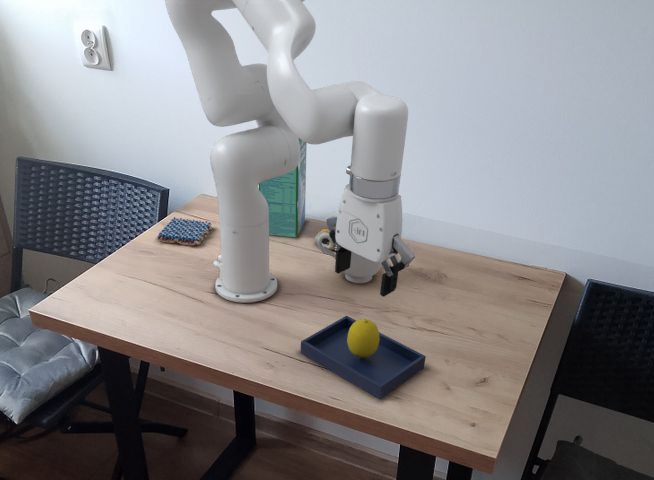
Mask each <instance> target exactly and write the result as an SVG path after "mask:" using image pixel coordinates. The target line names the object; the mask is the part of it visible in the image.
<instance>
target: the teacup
mask: <svg viewBox="0 0 654 480" xmlns="http://www.w3.org/2000/svg"><path fill="white" fill-rule="evenodd" d="M324 238H328V239H329V240H330V243H331V244H333V241H332V239H331V238H330V236H329V233H322V234H321V235H320V236H319V237H318V242H316V244H317V243H318V244H317V247H318V249H319V251H321V253H323V254H325V255H327V256H330V257H332V258H333V259H334V261H336V252H334V251H332V250H331V249H328V248H326V247H324V246H323V245H322V243H321V242H322V239H324ZM381 267H382V264H381V263H375V262H373V261H370V260H368V259H366V258H364V257H362V256H360V255H358V254H355V253H353V252H351V264H350V268H349V269H347V270H345V271H343V272H342V273H343V274H344V277H345V279H346V280H347V281H348V282H351V283H354V284H365V283H369V282H371V281H372V279H373V276H375V275H376V274H377V273H378V272H379V271H380V269H381Z"/></svg>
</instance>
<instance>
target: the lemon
mask: <svg viewBox="0 0 654 480" xmlns="http://www.w3.org/2000/svg"><path fill="white" fill-rule="evenodd" d="M379 332H380V331H379V328H378V326H377V324H376V323H375V322H374V321H372V320H371V319H368V318H361V319H358V320H356V322H354V323H353V324H352V326H351V327H350V329H349V332H348V337H347V343H348V347H349V350H350V351H351V352H352V354H354V355H355V356H357V357H360V358H366V357H370V356H371V355H373V354H374V353H375V352H376V350H377V348H378V345H379V341H380V337H379Z"/></svg>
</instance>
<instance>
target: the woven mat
mask: <svg viewBox="0 0 654 480" xmlns="http://www.w3.org/2000/svg"><path fill="white" fill-rule="evenodd" d="M211 230H213V226H212V222H209V221H208V220H206V221H202V220H200V219H199V221H198V220H195V219H192V220H191V219H188V218H185V219H183V218H182V217H180V218H176V217H175V216H174V217H173V218H172V219H170V220H169V221H168V222H167V223H166V225H165V226H164V227H163V228H162V230H161V231H160V232H158V235H157V236H156V240H158V241H159V242H161V243H168V244H174V243H176V244H180V245H184V246H199V245H201V243H202V241H203V240H204V239H206V238H208V234H209V233H210V231H211Z"/></svg>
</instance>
